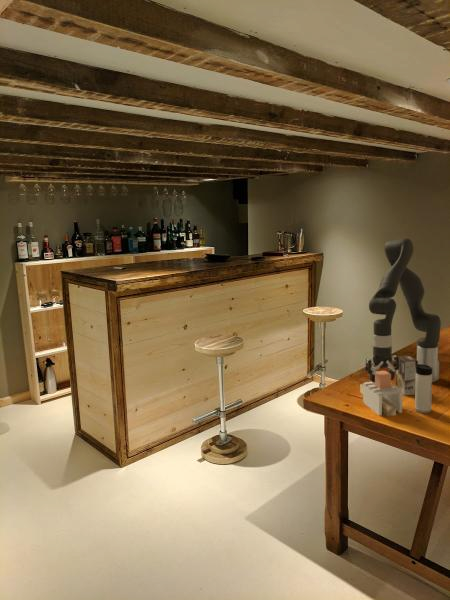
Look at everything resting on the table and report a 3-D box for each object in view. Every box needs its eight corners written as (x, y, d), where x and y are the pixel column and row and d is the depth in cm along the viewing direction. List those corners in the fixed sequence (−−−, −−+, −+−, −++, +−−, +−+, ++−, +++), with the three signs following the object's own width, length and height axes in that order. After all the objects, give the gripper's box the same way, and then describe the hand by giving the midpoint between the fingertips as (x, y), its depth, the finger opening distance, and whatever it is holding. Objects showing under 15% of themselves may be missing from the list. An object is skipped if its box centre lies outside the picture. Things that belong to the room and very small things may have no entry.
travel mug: (411, 408, 192) (412, 363, 188) (426, 406, 193) (427, 362, 189) (418, 414, 186) (419, 368, 182) (434, 412, 186) (435, 367, 183)
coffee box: (418, 394, 205) (418, 360, 202) (404, 395, 205) (404, 361, 202) (408, 387, 214) (409, 354, 211) (395, 388, 214) (395, 355, 211)
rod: (367, 392, 212) (367, 383, 211) (395, 416, 187) (395, 405, 186) (360, 393, 211) (360, 384, 211) (387, 417, 186) (387, 406, 185)
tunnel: (384, 399, 202) (384, 379, 200) (402, 412, 189) (402, 391, 187) (363, 402, 201) (363, 382, 199) (379, 415, 187) (379, 394, 185)
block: (384, 383, 196) (384, 370, 195) (390, 387, 191) (390, 374, 190) (374, 384, 195) (374, 371, 194) (380, 389, 190) (380, 375, 189)
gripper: (393, 340, 194) (392, 375, 197) (362, 343, 192) (362, 379, 195) (402, 344, 187) (402, 381, 190) (371, 348, 184) (371, 386, 188)
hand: (382, 380), depth 192 cm, fingers open, 8 cm apart
